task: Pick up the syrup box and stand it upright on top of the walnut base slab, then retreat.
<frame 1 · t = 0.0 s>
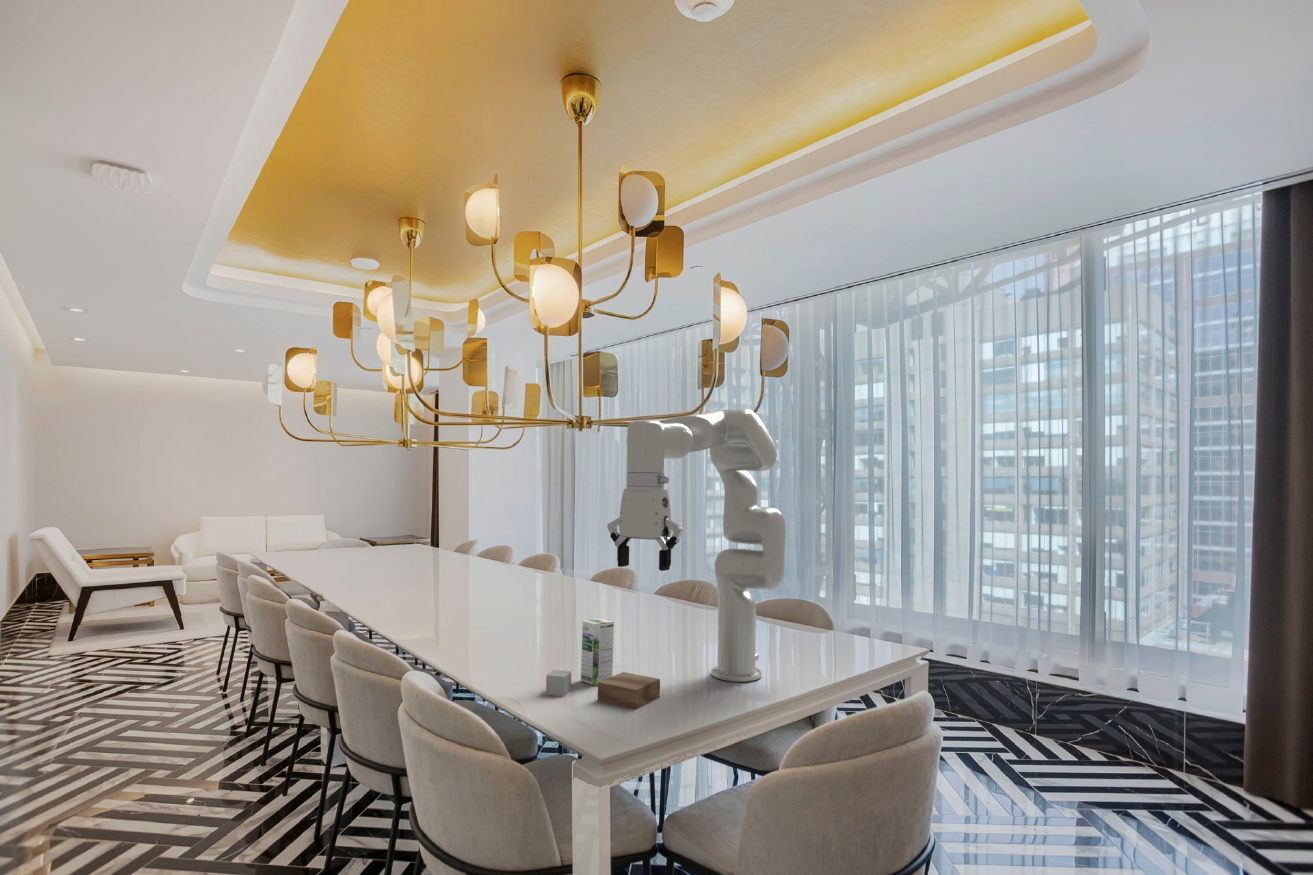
hand: (643, 568, 138), 31 cm above the table, fingers open, 9 cm apart
walnut base: (628, 699, 154), on the table
syrup box: (596, 682, 167), on the table
grey stone cube: (558, 693, 158), on the table
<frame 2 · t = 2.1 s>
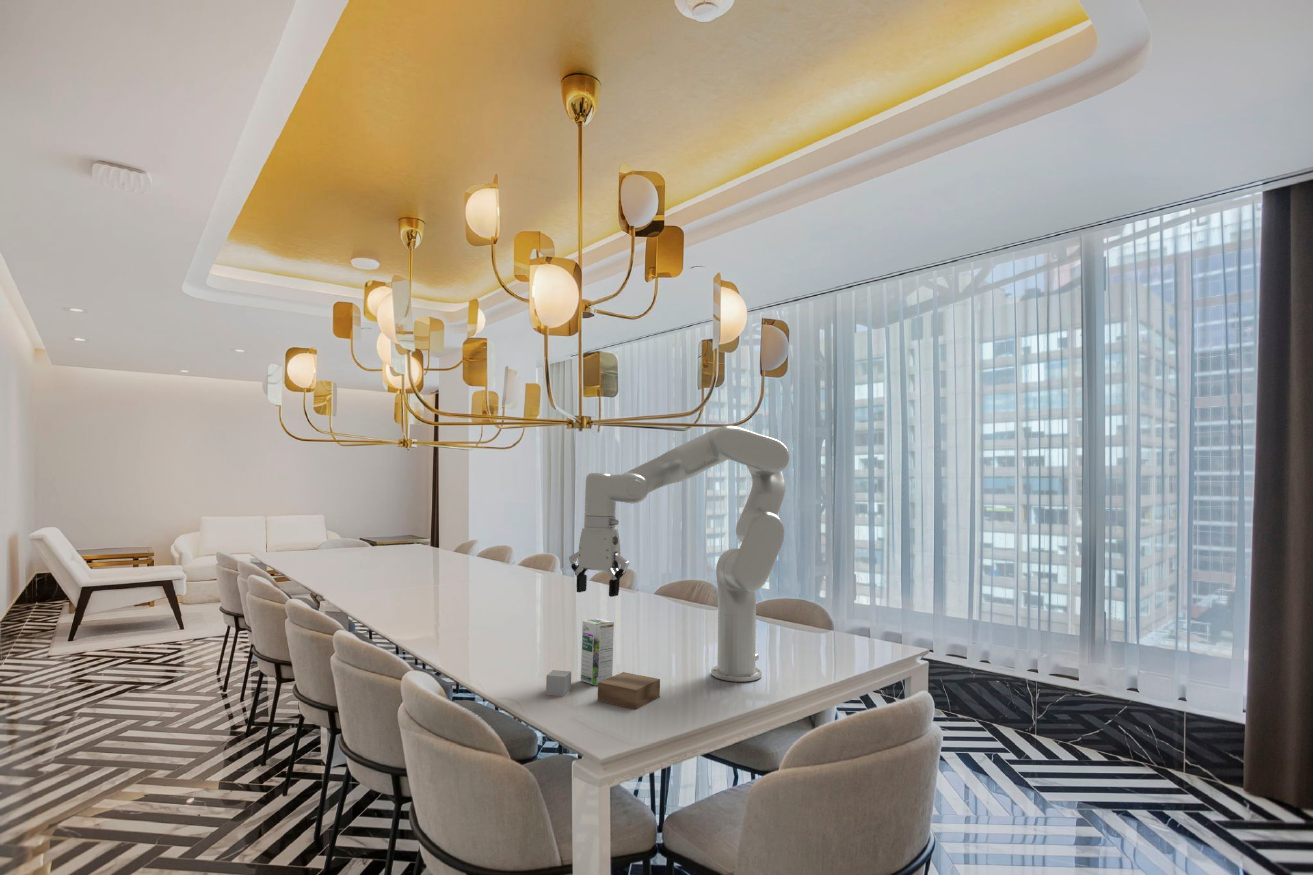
hand: (597, 593, 168), 21 cm above the table, fingers open, 9 cm apart
nothing on the table moved.
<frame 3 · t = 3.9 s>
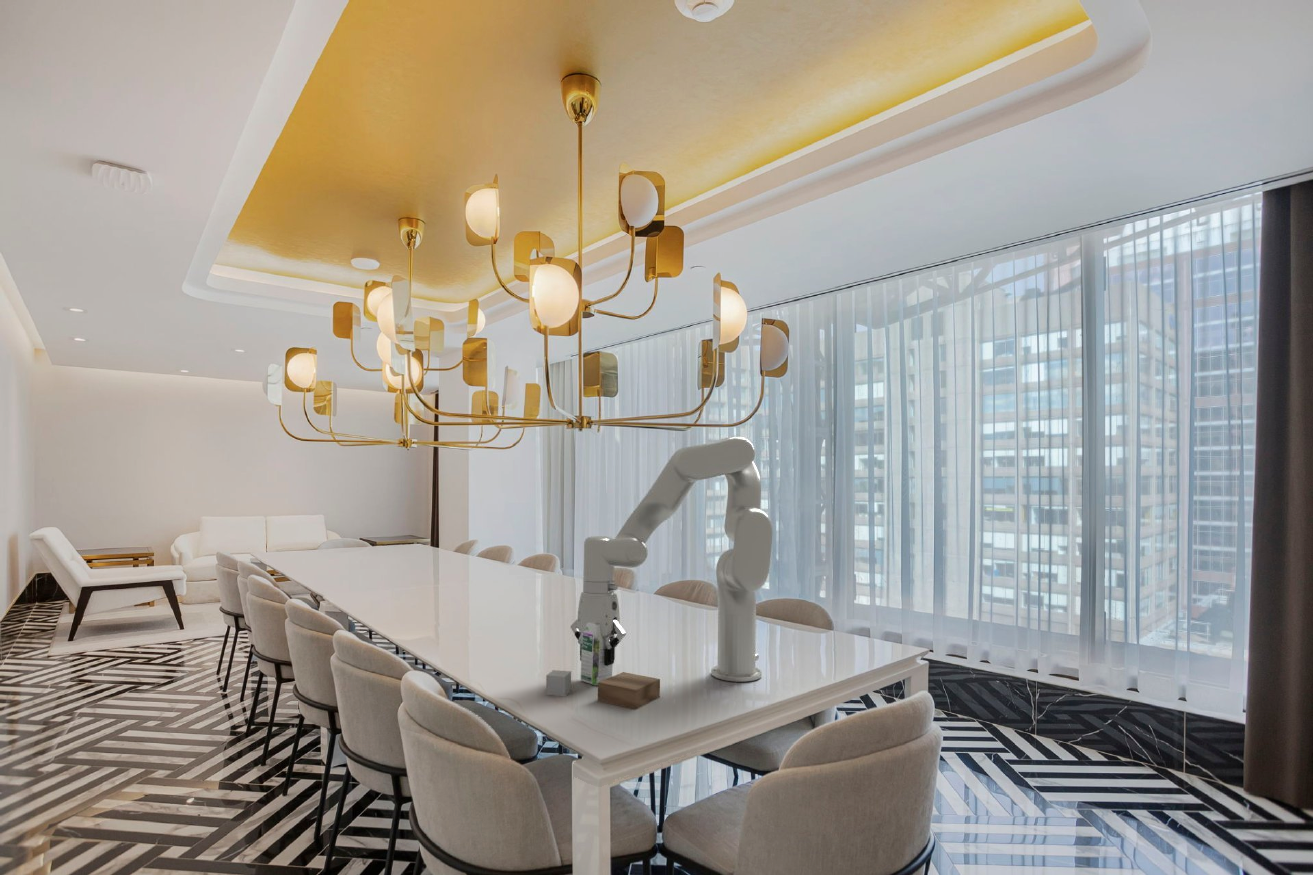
hand: (596, 661, 168), 5 cm above the table, fingers closed on syrup box, 6 cm apart
syrup box: (596, 682, 167), on the table, touching gripper
everything else where it was.
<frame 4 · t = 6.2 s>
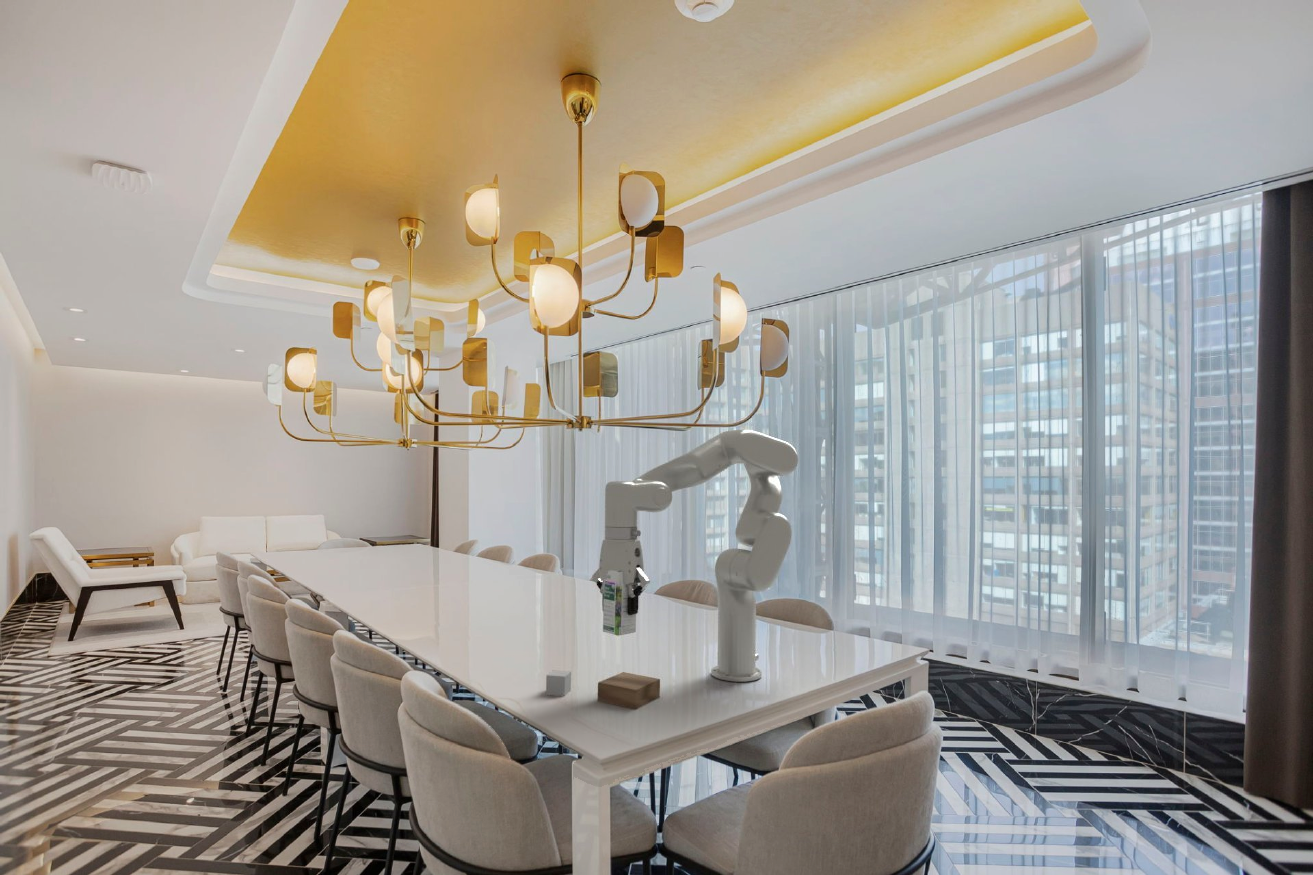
hand: (620, 611, 160), 18 cm above the table, fingers closed on syrup box, 6 cm apart
syrup box: (619, 633, 159), point 13 cm above the table, touching gripper
everything else where it was.
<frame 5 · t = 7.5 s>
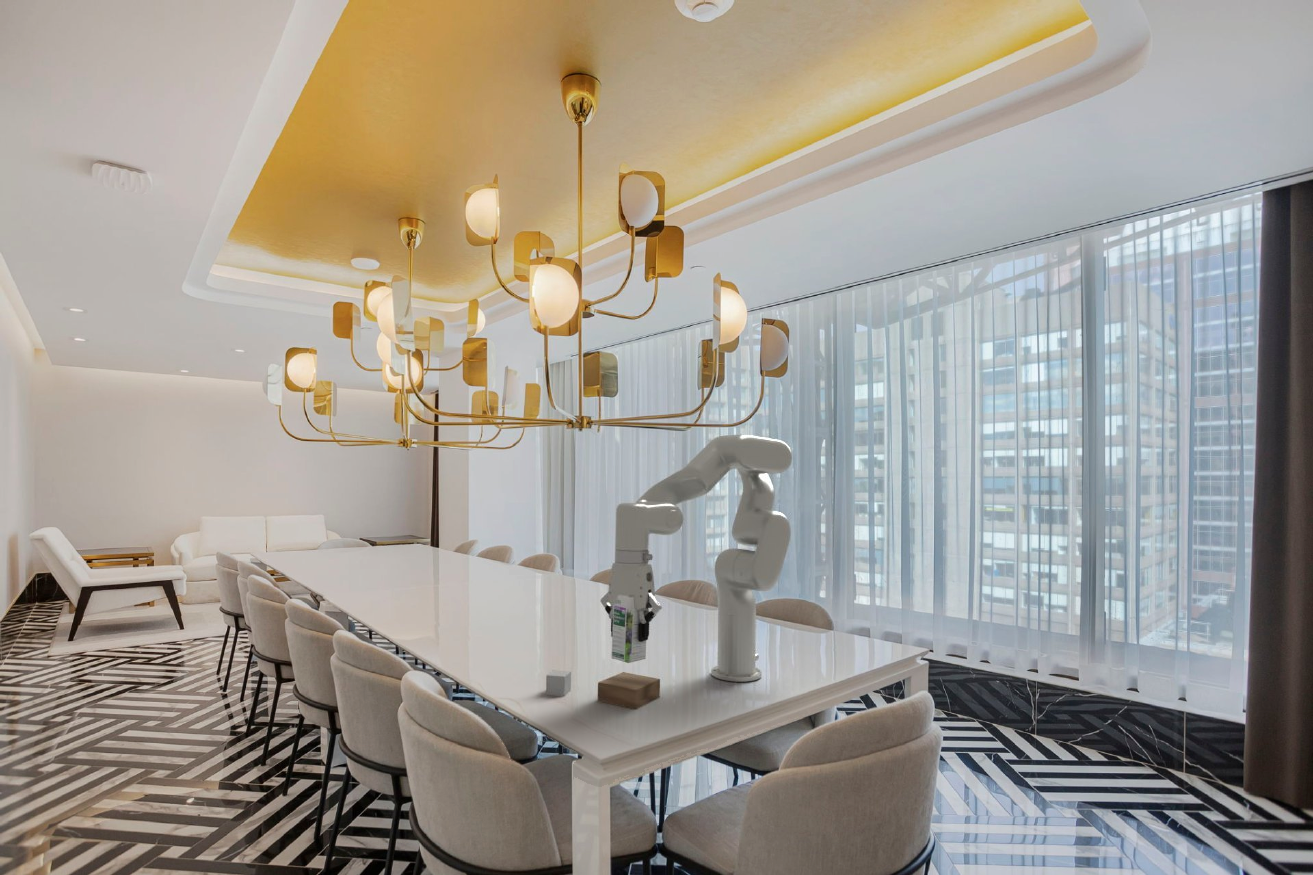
hand: (629, 637, 155), 13 cm above the table, fingers closed on syrup box, 6 cm apart
syrup box: (628, 660, 154), point 9 cm above the table, touching gripper
everything else where it was.
when the fingers open (10 cm above the table, at t = 8.6 s): syrup box stays where it is, resting on walnut base.
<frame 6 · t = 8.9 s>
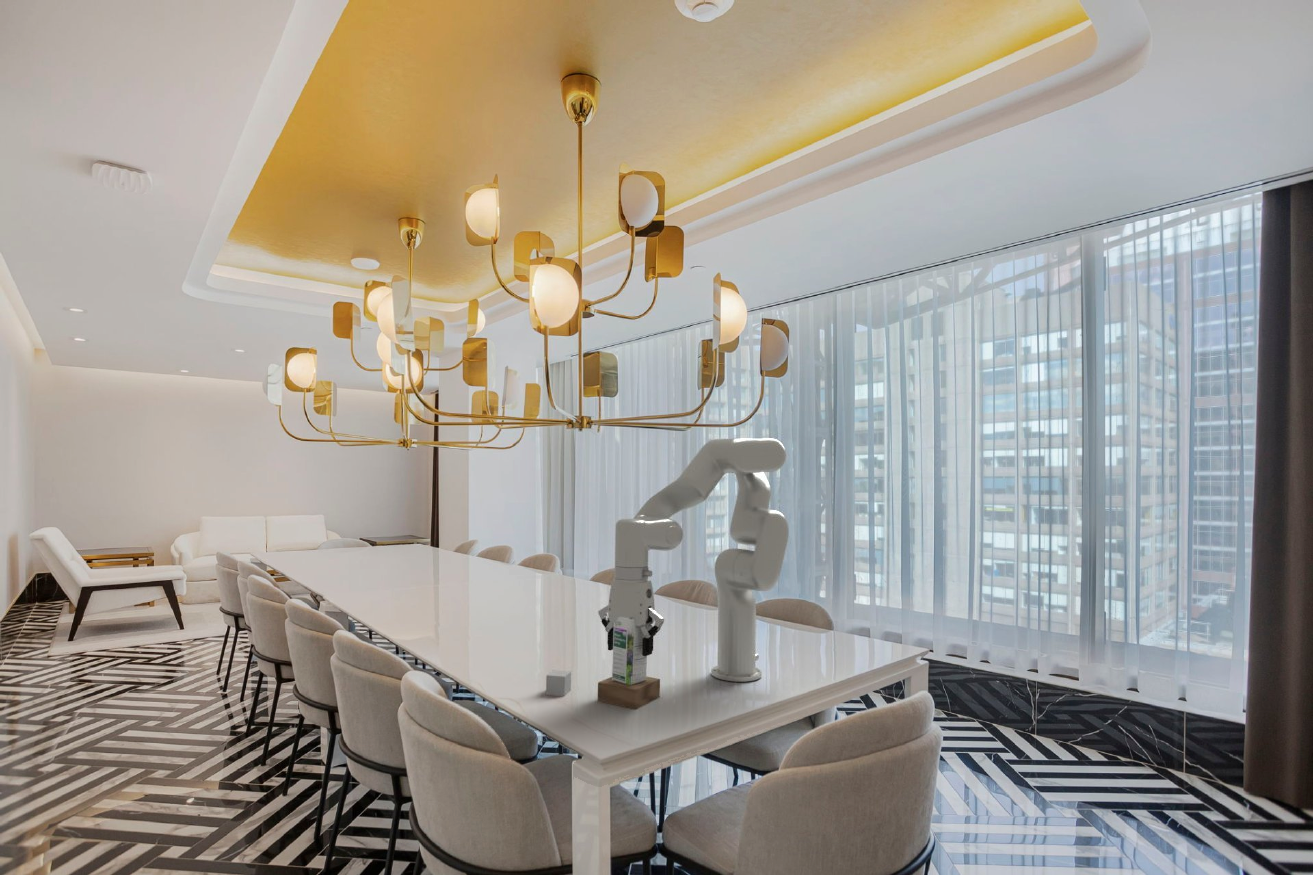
hand: (629, 651, 155), 10 cm above the table, fingers open, 8 cm apart
syrup box: (629, 681, 154), point 4 cm above the table, touching walnut base
everything else where it was.
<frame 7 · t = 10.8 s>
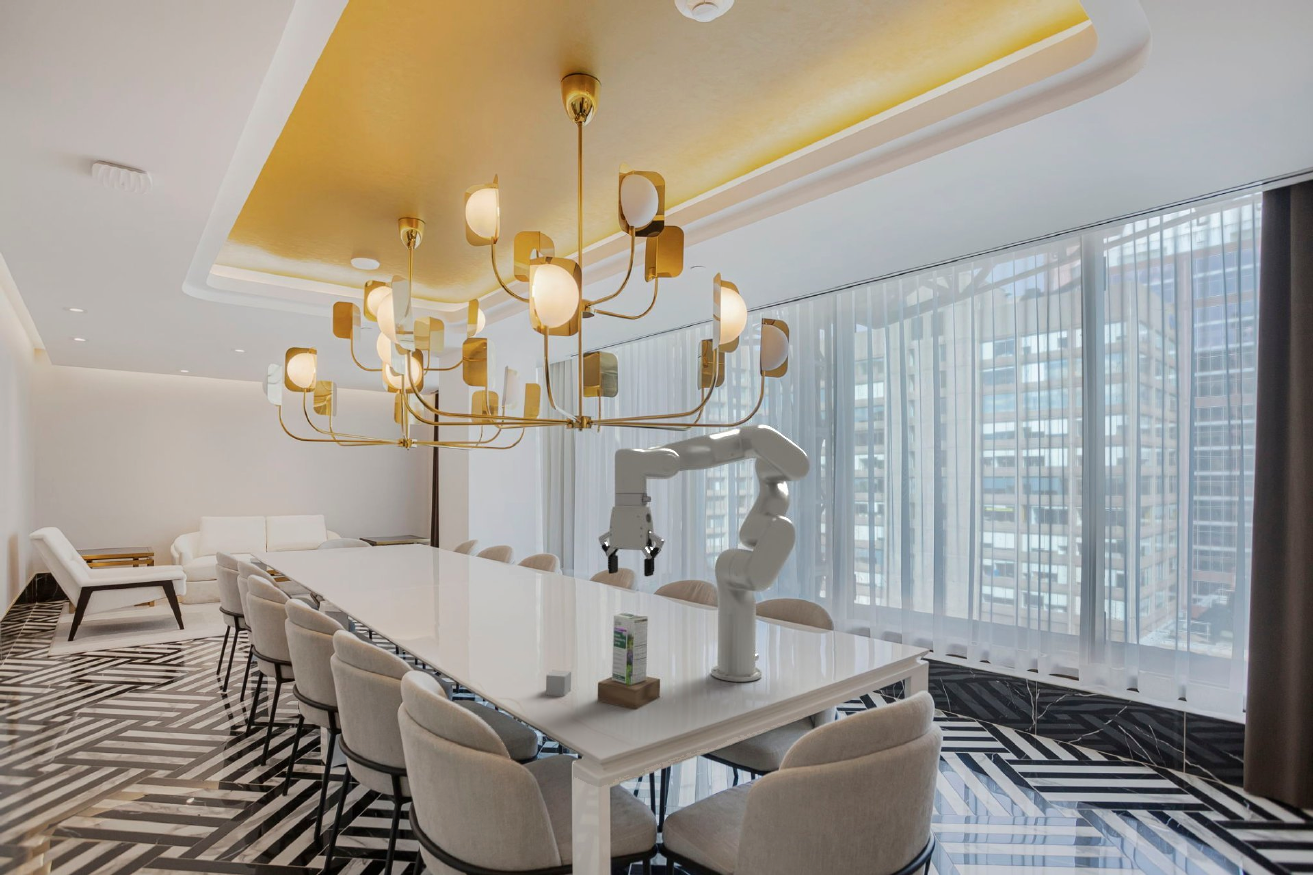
hand: (630, 574, 162), 27 cm above the table, fingers open, 9 cm apart
nothing on the table moved.
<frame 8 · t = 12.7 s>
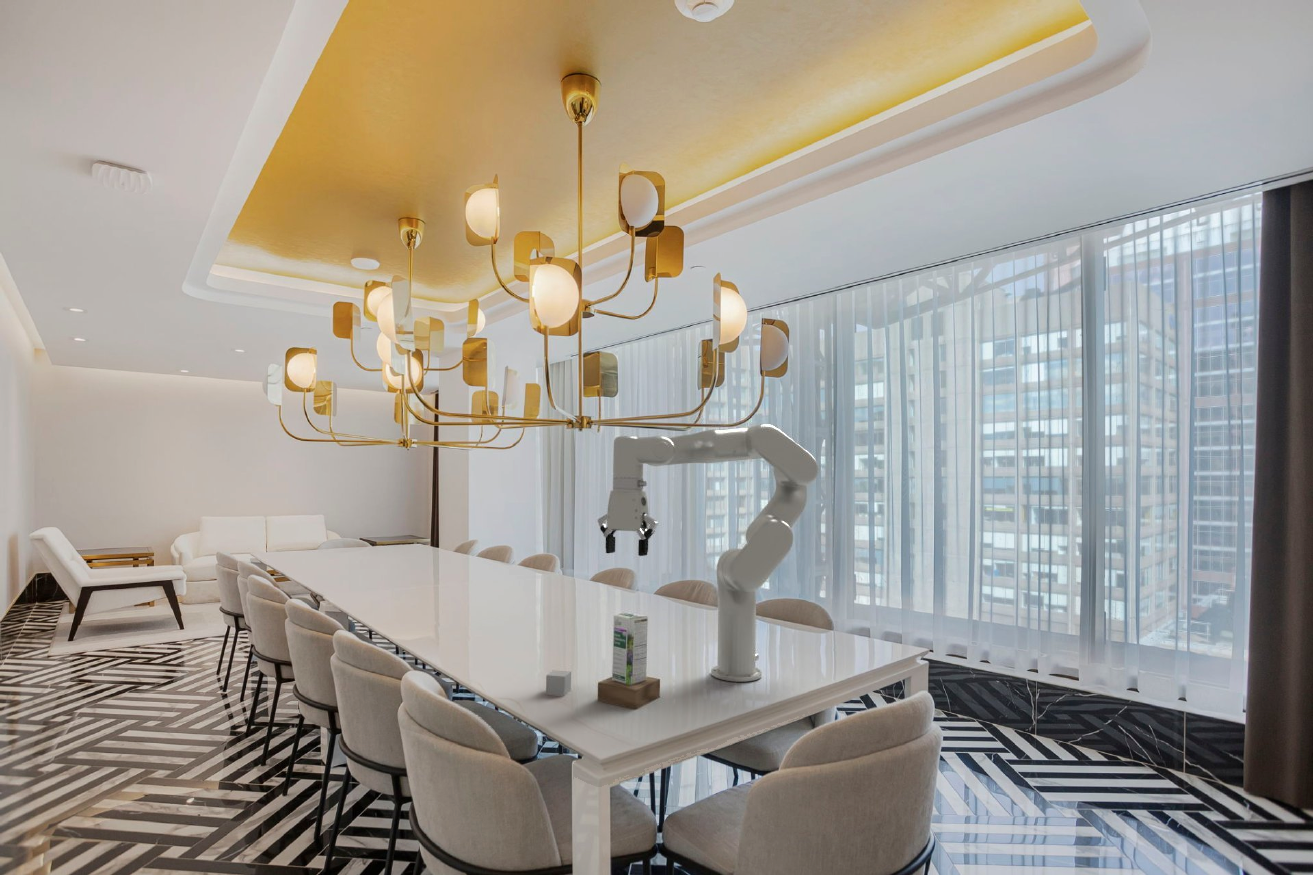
hand: (626, 554, 172), 30 cm above the table, fingers open, 9 cm apart
nothing on the table moved.
at the end: syrup box inside the target area on the walnut base (0.1 cm from its centre), point 3.8 cm above the walnut base's base; syrup box tilted 0°; the gripper is holding nothing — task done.
